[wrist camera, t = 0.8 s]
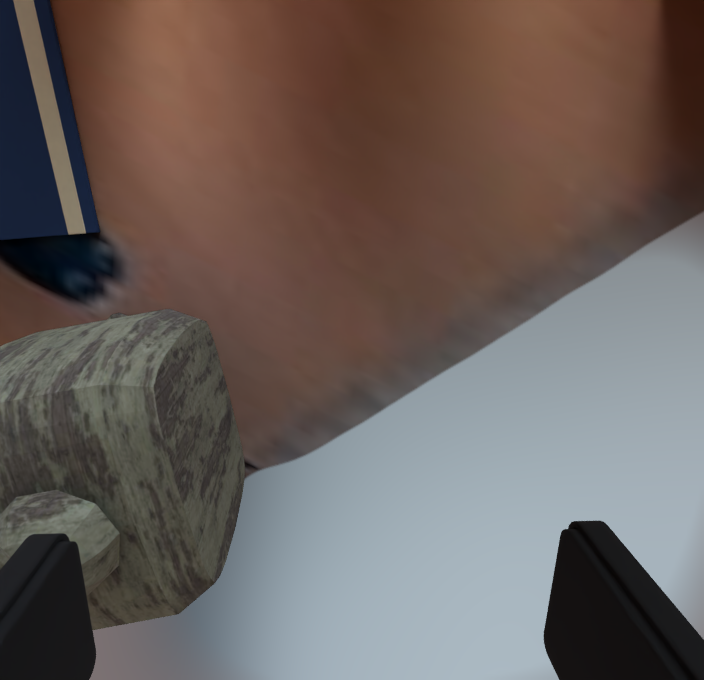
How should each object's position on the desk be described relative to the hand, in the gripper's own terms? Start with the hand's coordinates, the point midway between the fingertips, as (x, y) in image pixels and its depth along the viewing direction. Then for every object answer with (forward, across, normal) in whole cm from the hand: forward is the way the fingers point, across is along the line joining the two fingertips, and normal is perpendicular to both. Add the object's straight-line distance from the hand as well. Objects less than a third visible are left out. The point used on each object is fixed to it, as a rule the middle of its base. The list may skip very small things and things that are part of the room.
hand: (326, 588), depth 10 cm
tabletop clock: (+29, +11, +7) cm, 32 cm away
